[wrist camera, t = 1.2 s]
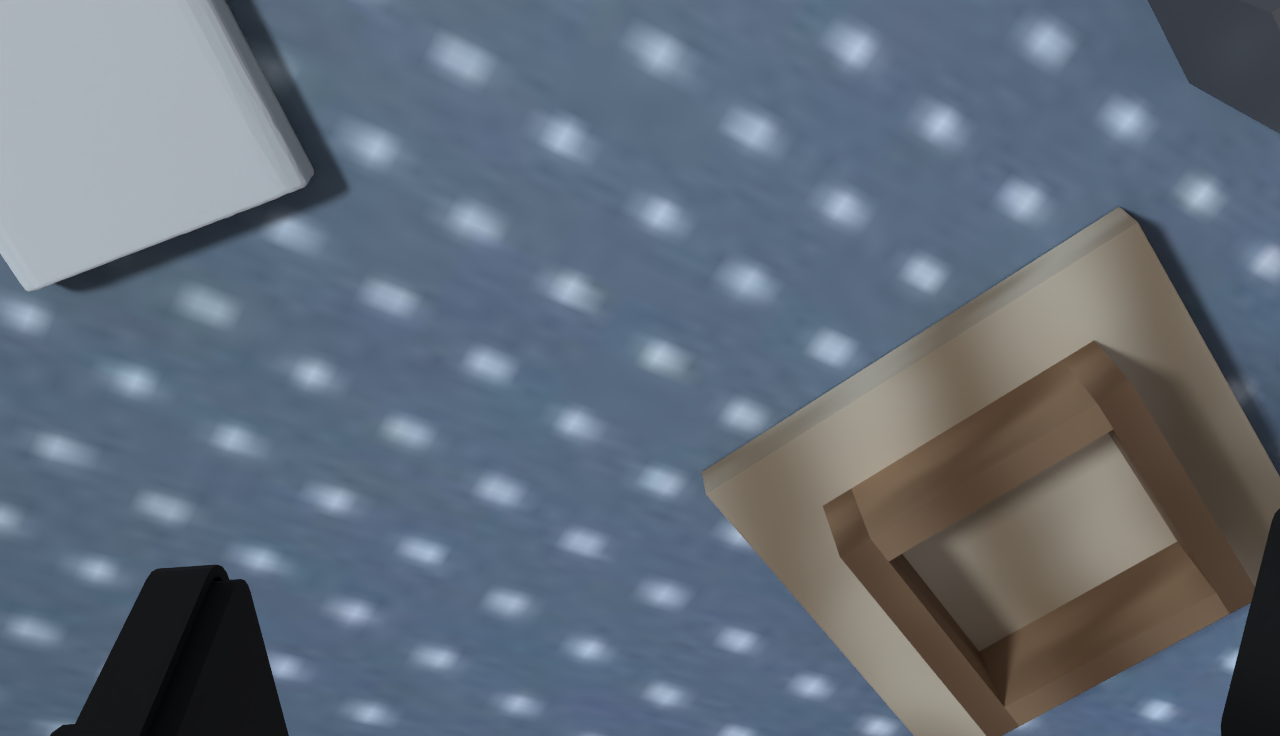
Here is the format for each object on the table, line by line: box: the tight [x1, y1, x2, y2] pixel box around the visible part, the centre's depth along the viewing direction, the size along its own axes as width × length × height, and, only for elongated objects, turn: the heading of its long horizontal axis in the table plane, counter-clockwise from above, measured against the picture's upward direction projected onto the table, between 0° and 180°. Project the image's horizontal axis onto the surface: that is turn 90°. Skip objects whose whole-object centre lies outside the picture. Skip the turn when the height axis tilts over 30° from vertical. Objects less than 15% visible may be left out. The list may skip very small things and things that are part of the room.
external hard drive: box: [0, 0, 314, 292], centre depth 29 cm, size 2×8×12 cm
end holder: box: [702, 207, 1280, 736], centre depth 36 cm, size 14×14×4 cm
